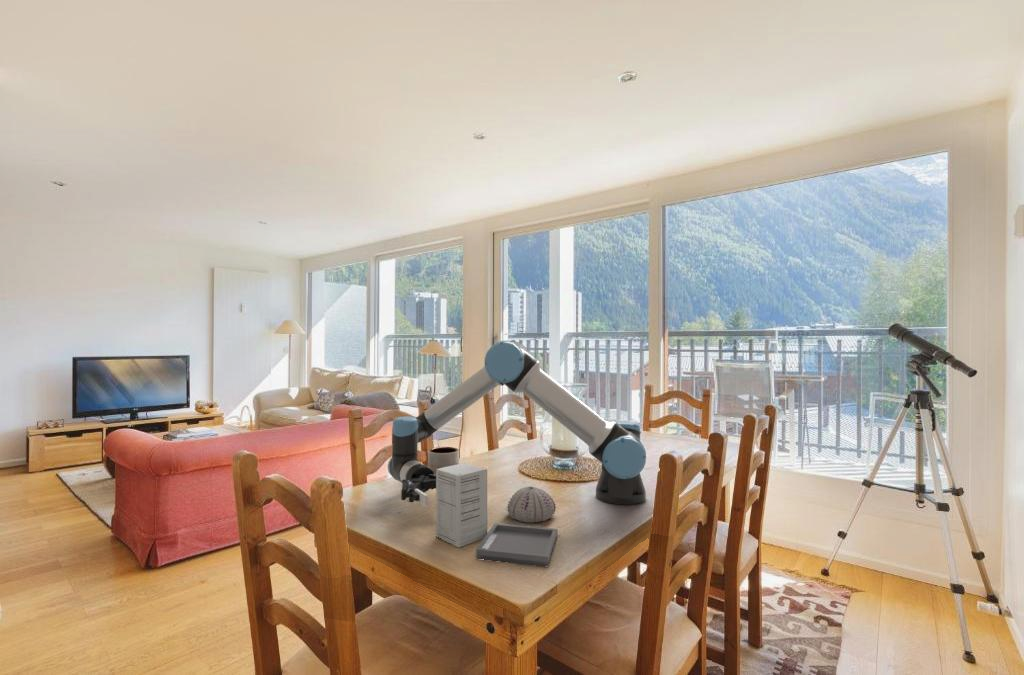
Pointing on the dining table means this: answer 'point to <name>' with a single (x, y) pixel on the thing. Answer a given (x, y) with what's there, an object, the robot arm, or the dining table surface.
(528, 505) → the sea urchin shell
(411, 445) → the robot arm
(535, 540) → the tray
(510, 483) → the dining table surface
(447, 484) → the supplement box
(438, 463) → the planter
